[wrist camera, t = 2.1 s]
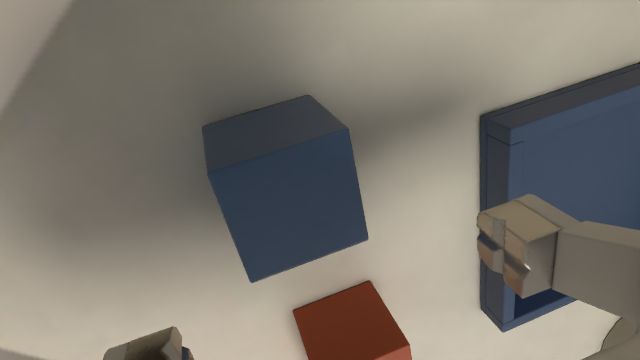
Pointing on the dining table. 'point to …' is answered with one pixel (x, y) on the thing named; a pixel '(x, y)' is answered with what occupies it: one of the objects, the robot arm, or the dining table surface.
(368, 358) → the rust block
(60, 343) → the dining table surface
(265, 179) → the blue block
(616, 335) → the cup
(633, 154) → the blue tray
